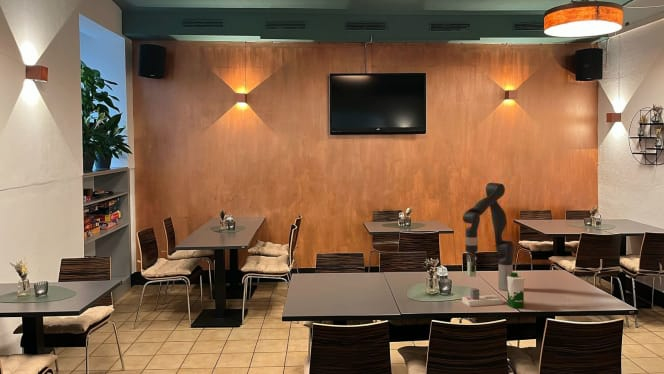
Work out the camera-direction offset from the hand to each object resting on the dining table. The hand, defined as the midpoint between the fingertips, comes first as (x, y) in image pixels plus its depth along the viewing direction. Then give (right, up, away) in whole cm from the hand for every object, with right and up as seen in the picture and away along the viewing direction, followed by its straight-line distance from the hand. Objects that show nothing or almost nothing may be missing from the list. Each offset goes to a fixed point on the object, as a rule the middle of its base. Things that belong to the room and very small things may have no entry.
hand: (471, 270), depth 356 cm
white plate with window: (+5, -19, -6) cm, 21 cm away
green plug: (0, -3, 0) cm, 3 cm away
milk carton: (+23, -20, -15) cm, 34 cm away
